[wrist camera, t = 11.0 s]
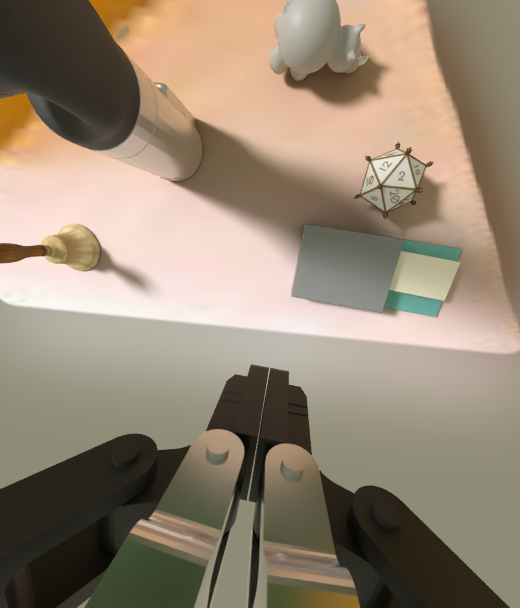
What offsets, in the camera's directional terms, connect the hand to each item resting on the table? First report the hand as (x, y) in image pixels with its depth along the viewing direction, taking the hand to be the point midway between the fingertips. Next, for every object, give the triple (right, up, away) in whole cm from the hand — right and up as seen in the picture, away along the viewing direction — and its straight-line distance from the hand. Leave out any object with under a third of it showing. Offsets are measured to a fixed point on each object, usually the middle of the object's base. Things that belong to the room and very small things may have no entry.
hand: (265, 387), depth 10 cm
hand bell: (-33, +14, +37) cm, 51 cm away
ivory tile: (+24, +8, +31) cm, 40 cm away
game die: (+18, +21, +28) cm, 40 cm away
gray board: (+13, +10, +32) cm, 36 cm away
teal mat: (+25, +7, +31) cm, 41 cm away
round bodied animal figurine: (+8, +36, +25) cm, 45 cm away
